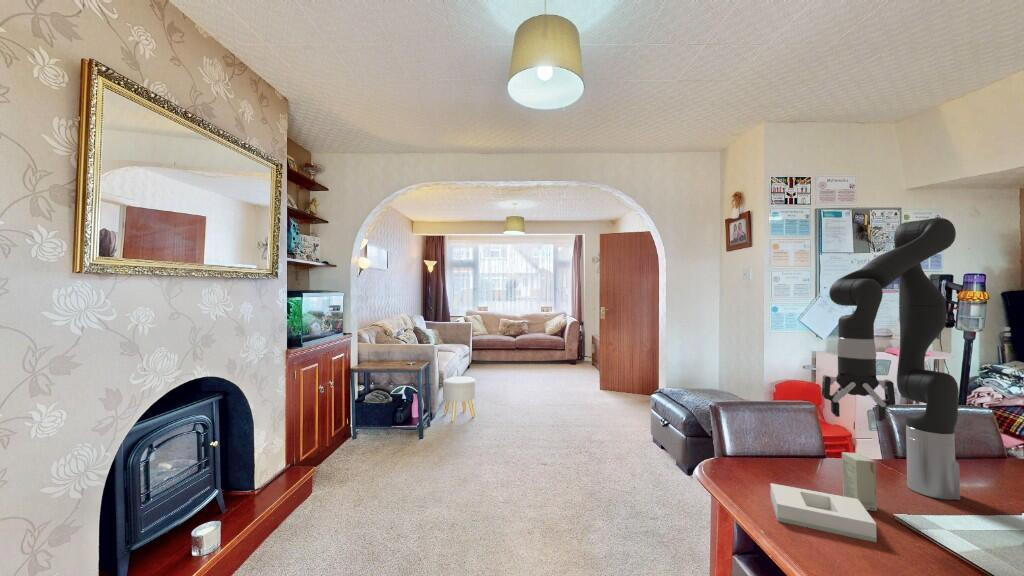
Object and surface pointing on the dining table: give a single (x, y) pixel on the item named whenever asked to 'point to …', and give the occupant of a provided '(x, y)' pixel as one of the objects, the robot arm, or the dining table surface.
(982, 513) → the dining table surface
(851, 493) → the skincare box
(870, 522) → the white slotted base
